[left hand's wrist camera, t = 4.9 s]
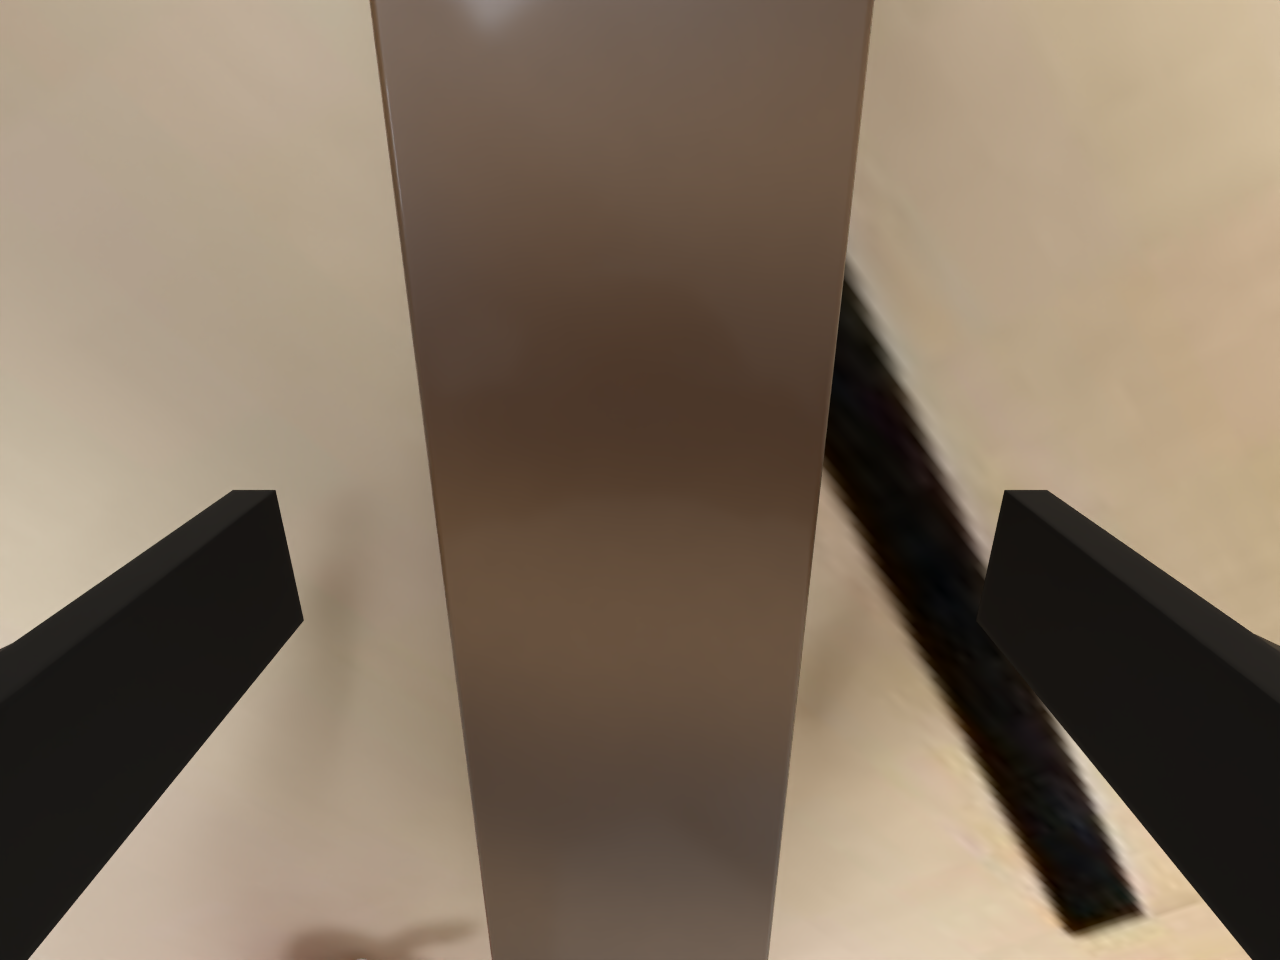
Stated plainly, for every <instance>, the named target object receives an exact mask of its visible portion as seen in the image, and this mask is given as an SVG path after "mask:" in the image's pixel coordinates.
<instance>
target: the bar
mask: <svg viewBox="0 0 1280 960" xmlns="http://www.w3.org/2000/svg"><path fill="white" fill-rule="evenodd" d="M369 1H370V9H371V17H372V24H373V32H374V40H375V48H376V56H377V64H378V71H379V79H380V87H381V95H382V103H383V111H384V118H385V126H386V134H387V142H388V150H389V158H390V165H391V173H392V181H393V189H394V197H395V205H396V212H397V220H398V228H399V236H400V244H401V252H402V259H403V267H404V275H405V283H406V291H407V299H408V306H409V314H410V322H411V330H412V338H413V346H414V353H415V361H416V369H417V377H418V385H419V393H420V400H421V408H422V416H423V424H424V432H425V440H426V447H427V455H428V463H429V471H430V479H431V487H432V494H433V502H434V510H435V518H436V526H437V534H438V541H439V549H440V557H441V565H442V573H443V581H444V588H445V596H446V604H447V612H448V620H449V628H450V635H451V643H452V651H453V659H454V667H455V675H456V682H457V690H458V698H459V706H460V714H461V722H462V729H463V737H464V745H465V753H466V761H467V769H468V776H469V784H470V792H471V800H472V808H473V816H474V823H475V831H476V839H477V847H478V855H479V863H480V870H481V878H482V886H483V894H484V902H485V910H486V917H487V925H488V933H489V941H490V949H491V957H492V960H768V956H769V947H770V938H771V929H772V920H773V911H774V902H775V893H776V884H777V874H778V865H779V856H780V847H781V838H782V829H783V820H784V811H785V802H786V793H787V784H788V775H789V766H790V757H791V748H792V739H793V730H794V721H795V712H796V703H797V694H798V685H799V676H800V666H801V657H802V648H803V639H804V630H805V621H806V612H807V603H808V594H809V585H810V576H811V567H812V558H813V549H814V540H815V531H816V522H817V513H818V504H819V495H820V486H821V477H822V468H823V458H824V449H825V440H826V431H827V422H828V413H829V404H830V395H831V386H832V377H833V368H834V359H835V350H836V341H837V332H838V323H839V314H840V305H841V296H842V287H843V278H844V269H845V259H846V250H847V241H848V232H849V223H850V214H851V205H852V196H853V187H854V178H855V169H856V160H857V151H858V142H859V133H860V124H861V115H862V106H863V97H864V88H865V79H866V70H867V61H868V51H869V42H870V33H871V24H872V15H873V6H874V0H369Z"/></svg>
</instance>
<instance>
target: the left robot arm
mask: <svg viewBox="0 0 1280 960" xmlns="http://www.w3.org/2000/svg"><path fill="white" fill-rule="evenodd" d="M303 621H304V619H303V614H302V610H301V605H300V601H299V596H298V591H297V587H296V582H295V578H294V573H293V568H292V564H291V559H290V555H289V550H288V546H287V541H286V536H285V532H284V527H283V523H282V518H281V513H280V509H279V504H278V500H277V495H276V490H232V491H231V492H230V493H228V494H227V495H225V496H224V497H222V498H221V499H219V500H218V501H217V502H215V503H214V504H212V505H211V506H209V507H208V508H207V509H205V510H204V511H202V512H201V513H199V514H198V515H196V516H195V517H194V518H192V519H191V520H189V521H188V522H186V523H185V524H183V525H182V526H181V527H179V528H178V529H176V530H175V531H173V532H172V533H171V534H169V535H168V536H166V537H165V538H163V539H162V540H160V541H159V542H158V543H156V544H155V545H153V546H152V547H150V548H149V549H148V550H146V551H145V552H143V553H142V554H140V555H139V556H137V557H136V558H135V559H133V560H132V561H130V562H129V563H127V564H126V565H125V566H123V567H122V568H120V569H119V570H117V571H116V572H114V573H113V574H112V575H110V576H109V577H107V578H106V579H104V580H103V581H102V582H100V583H99V584H97V585H96V586H94V587H93V588H91V589H90V590H89V591H87V592H86V593H84V594H83V595H81V596H80V597H79V598H77V599H76V600H74V601H73V602H71V603H70V604H68V605H67V606H66V607H64V608H63V609H61V610H60V611H58V612H57V613H56V614H54V615H53V616H51V617H50V618H48V619H47V620H45V621H44V622H43V623H41V624H40V625H38V626H37V627H35V628H34V629H33V630H31V631H30V632H28V633H27V634H25V635H24V636H22V637H21V638H20V639H18V640H17V641H15V642H14V643H12V644H10V645H8V646H6V647H4V648H2V649H0V960H28V959H29V958H30V956H31V955H32V954H33V953H34V951H35V950H36V949H37V948H38V947H39V945H40V944H41V943H42V942H43V940H44V939H45V938H46V937H47V936H48V934H49V933H50V932H51V931H52V929H53V928H54V927H55V926H56V924H57V923H58V922H59V921H60V920H61V918H62V917H63V916H64V915H65V913H66V912H67V911H68V910H69V908H70V907H71V906H72V905H73V904H74V902H75V901H76V900H77V899H78V897H79V896H80V895H81V894H82V892H83V891H84V890H85V889H86V888H87V886H88V885H89V884H90V883H91V881H92V880H93V879H94V878H95V876H96V875H97V874H98V873H99V872H100V870H101V869H102V868H103V867H104V865H105V864H106V863H107V862H108V861H109V859H110V858H111V857H112V856H113V854H114V853H115V852H116V851H117V849H118V848H119V847H120V846H121V845H122V843H123V842H124V841H125V840H126V838H127V837H128V836H129V835H130V833H131V832H132V831H133V830H134V829H135V827H136V826H137V825H138V824H139V822H140V821H141V820H142V819H143V817H144V816H145V815H146V814H147V813H148V811H149V810H150V809H151V808H152V806H153V805H154V804H155V803H156V801H157V800H158V799H159V798H160V797H161V795H162V794H163V793H164V792H165V790H166V789H167V788H168V787H169V786H170V784H171V783H172V782H173V781H174V779H175V778H176V777H177V776H178V774H179V773H180V772H181V771H182V770H183V768H184V767H185V766H186V765H187V763H188V762H189V761H190V760H191V758H192V757H193V756H194V755H195V754H196V752H197V751H198V750H199V749H200V747H201V746H202V745H203V744H204V742H205V741H206V740H207V739H208V738H209V736H210V735H211V734H212V733H213V731H214V730H215V729H216V728H217V726H218V725H219V724H220V723H221V722H222V720H223V719H224V718H225V717H226V715H227V714H228V713H229V712H230V711H231V709H232V708H233V707H234V706H235V704H236V703H237V702H238V701H239V699H240V698H241V697H242V696H243V695H244V693H245V692H246V691H247V690H248V688H249V687H250V686H251V685H252V683H253V682H254V681H255V680H256V679H257V677H258V676H259V675H260V674H261V672H262V671H263V670H264V669H265V667H266V666H267V665H268V664H269V663H270V661H271V660H272V659H273V658H274V656H275V655H276V654H277V653H278V651H279V650H280V649H281V648H282V647H283V645H284V644H285V643H286V642H287V640H288V639H289V638H290V637H291V636H292V634H293V633H294V632H295V631H296V629H297V628H298V627H299V626H300V624H301V623H302V622H303ZM976 621H977V622H978V623H979V624H980V626H981V627H982V628H983V629H984V631H985V632H986V633H987V634H988V636H989V637H990V638H991V639H992V640H993V642H994V643H995V644H996V645H997V647H998V648H999V649H1000V650H1001V651H1002V653H1003V654H1004V655H1005V656H1006V658H1007V659H1008V660H1009V661H1010V663H1011V664H1012V665H1013V666H1014V667H1015V669H1016V670H1017V671H1018V672H1019V674H1020V675H1021V676H1022V677H1023V679H1024V680H1025V681H1026V682H1027V683H1028V685H1029V686H1030V687H1031V688H1032V690H1033V691H1034V692H1035V693H1036V695H1037V696H1038V697H1039V698H1040V699H1041V701H1042V702H1043V703H1044V704H1045V706H1046V707H1047V708H1048V709H1049V711H1050V712H1051V713H1052V714H1053V715H1054V717H1055V718H1056V719H1057V720H1058V722H1059V723H1060V724H1061V725H1062V726H1063V728H1064V729H1065V730H1066V731H1067V733H1068V734H1069V735H1070V736H1071V738H1072V739H1073V740H1074V741H1075V742H1076V744H1077V745H1078V746H1079V747H1080V749H1081V750H1082V751H1083V752H1084V754H1085V755H1086V756H1087V757H1088V758H1089V760H1090V761H1091V762H1092V763H1093V765H1094V766H1095V767H1096V768H1097V770H1098V771H1099V772H1100V773H1101V774H1102V776H1103V777H1104V778H1105V779H1106V781H1107V782H1108V783H1109V784H1110V786H1111V787H1112V788H1113V789H1114V790H1115V792H1116V793H1117V794H1118V795H1119V797H1120V798H1121V799H1122V800H1123V801H1124V803H1125V804H1126V805H1127V806H1128V808H1129V809H1130V810H1131V811H1132V813H1133V814H1134V815H1135V816H1136V817H1137V819H1138V820H1139V821H1140V822H1141V824H1142V825H1143V826H1144V827H1145V829H1146V830H1147V831H1148V832H1149V833H1150V835H1151V836H1152V837H1153V838H1154V840H1155V841H1156V842H1157V843H1158V845H1159V846H1160V847H1161V848H1162V849H1163V851H1164V852H1165V853H1166V854H1167V856H1168V857H1169V858H1170V859H1171V861H1172V862H1173V863H1174V864H1175V865H1176V867H1177V868H1178V869H1179V870H1180V872H1181V873H1182V874H1183V875H1184V876H1185V878H1186V879H1187V880H1188V881H1189V883H1190V884H1191V885H1192V886H1193V888H1194V889H1195V890H1196V891H1197V892H1198V894H1199V895H1200V896H1201V897H1202V899H1203V900H1204V901H1205V902H1206V904H1207V905H1208V906H1209V907H1210V908H1211V910H1212V911H1213V912H1214V913H1215V915H1216V916H1217V917H1218V918H1219V920H1220V921H1221V922H1222V923H1223V924H1224V926H1225V927H1226V928H1227V929H1228V931H1229V932H1230V933H1231V934H1232V936H1233V937H1234V938H1235V939H1236V940H1237V942H1238V943H1239V944H1240V945H1241V947H1242V948H1243V949H1244V950H1245V951H1246V953H1247V954H1248V955H1249V956H1250V958H1251V959H1252V960H1280V646H1279V645H1277V644H1274V643H1272V642H1270V641H1268V640H1266V639H1264V638H1262V637H1260V636H1257V635H1255V634H1253V633H1252V632H1250V631H1249V630H1247V629H1246V628H1245V627H1243V626H1242V625H1240V624H1239V623H1237V622H1236V621H1235V620H1233V619H1232V618H1230V617H1229V616H1227V615H1226V614H1224V613H1223V612H1222V611H1220V610H1219V609H1217V608H1216V607H1214V606H1213V605H1212V604H1210V603H1209V602H1207V601H1206V600H1204V599H1203V598H1201V597H1200V596H1199V595H1197V594H1196V593H1194V592H1193V591H1191V590H1190V589H1189V588H1187V587H1186V586H1184V585H1183V584H1181V583H1180V582H1178V581H1177V580H1176V579H1174V578H1173V577H1171V576H1170V575H1168V574H1167V573H1166V572H1164V571H1163V570H1161V569H1160V568H1158V567H1157V566H1155V565H1154V564H1153V563H1151V562H1150V561H1148V560H1147V559H1145V558H1144V557H1143V556H1141V555H1140V554H1138V553H1137V552H1135V551H1134V550H1132V549H1131V548H1130V547H1128V546H1127V545H1125V544H1124V543H1122V542H1121V541H1120V540H1118V539H1117V538H1115V537H1114V536H1112V535H1111V534H1109V533H1108V532H1107V531H1105V530H1104V529H1102V528H1101V527H1099V526H1098V525H1097V524H1095V523H1094V522H1092V521H1091V520H1089V519H1088V518H1086V517H1085V516H1084V515H1082V514H1081V513H1079V512H1078V511H1076V510H1075V509H1073V508H1072V507H1071V506H1069V505H1068V504H1066V503H1065V502H1063V501H1062V500H1061V499H1059V498H1058V497H1056V496H1055V495H1053V494H1052V493H1050V492H1049V491H1048V490H1004V495H1003V500H1002V504H1001V509H1000V513H999V518H998V523H997V527H996V532H995V536H994V541H993V546H992V550H991V555H990V559H989V564H988V568H987V573H986V578H985V582H984V587H983V591H982V596H981V601H980V605H979V610H978V614H977V619H976Z"/></svg>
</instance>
